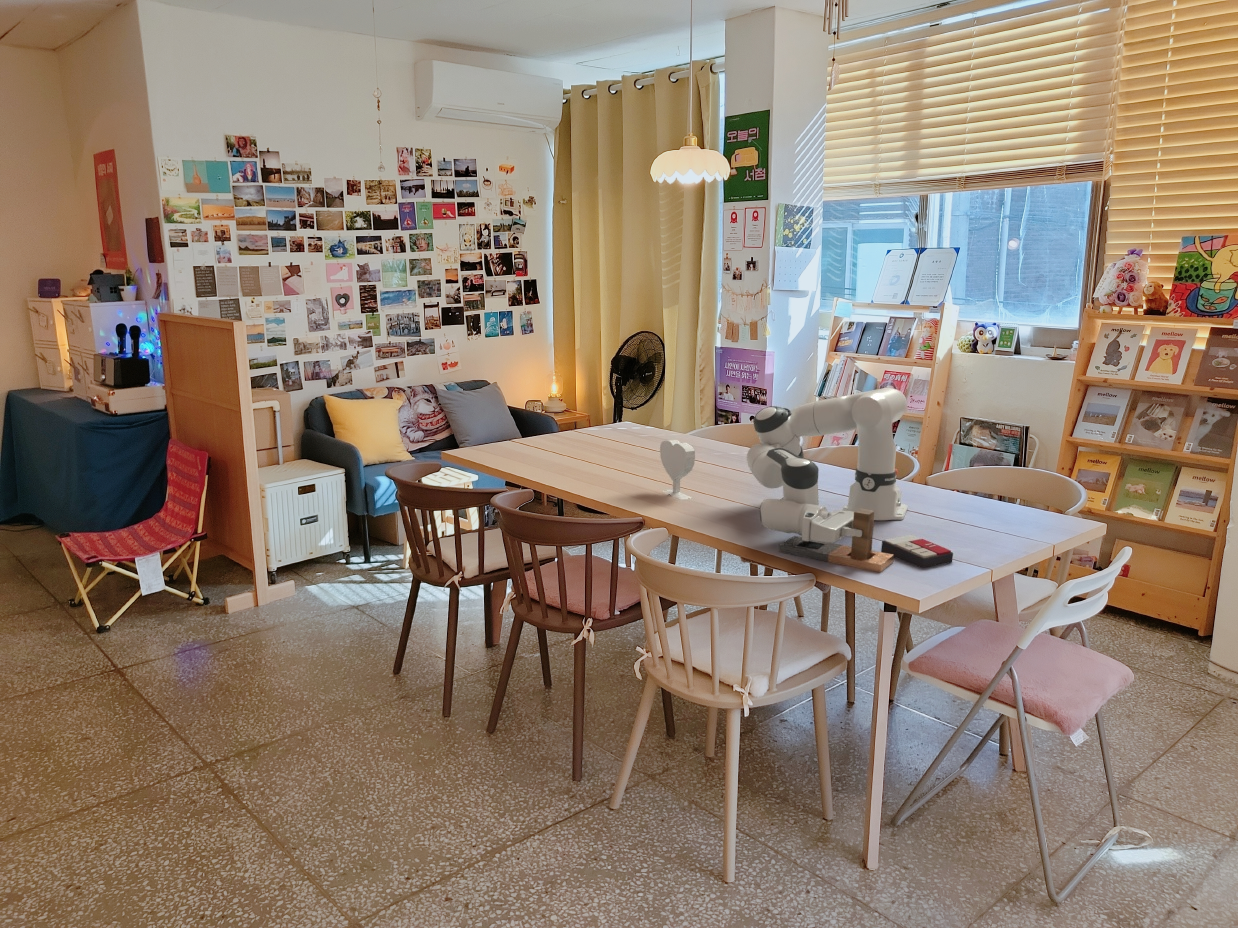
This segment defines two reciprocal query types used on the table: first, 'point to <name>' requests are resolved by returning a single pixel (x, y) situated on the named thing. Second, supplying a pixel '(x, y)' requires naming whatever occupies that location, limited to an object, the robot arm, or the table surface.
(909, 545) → the calculator
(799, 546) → the peg board
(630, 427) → the table surface
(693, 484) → the table surface
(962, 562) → the table surface
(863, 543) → the walnut peg
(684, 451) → the heart sculpture
